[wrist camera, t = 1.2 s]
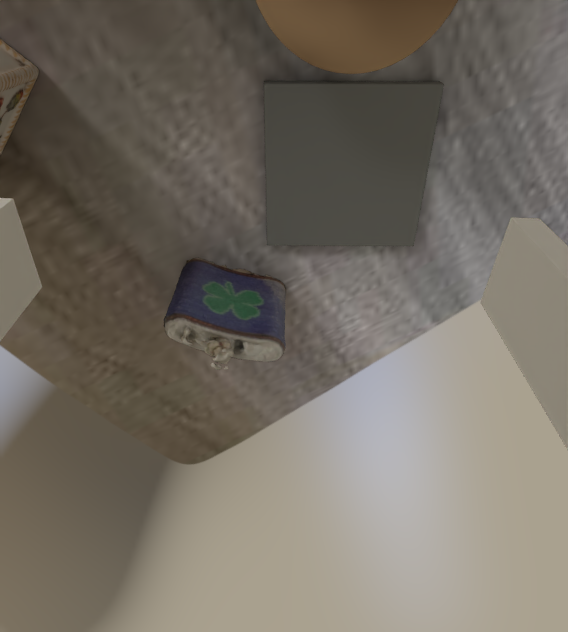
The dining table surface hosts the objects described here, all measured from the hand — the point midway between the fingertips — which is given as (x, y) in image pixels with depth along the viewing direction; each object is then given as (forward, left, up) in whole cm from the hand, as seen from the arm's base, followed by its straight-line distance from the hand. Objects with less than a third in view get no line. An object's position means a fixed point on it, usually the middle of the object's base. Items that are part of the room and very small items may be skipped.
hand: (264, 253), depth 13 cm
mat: (+5, +5, -24) cm, 25 cm away
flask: (+15, -4, -24) cm, 29 cm away
